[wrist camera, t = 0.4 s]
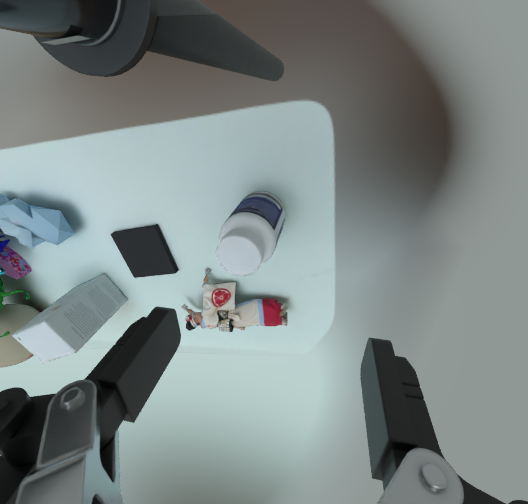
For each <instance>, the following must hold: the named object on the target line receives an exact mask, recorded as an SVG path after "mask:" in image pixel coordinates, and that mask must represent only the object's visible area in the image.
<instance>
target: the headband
mask: <svg viewBox="0 0 528 504" xmlns="http://www.w3.org/2000/svg"><path fill="white" fill-rule="evenodd" d="M0 266H1V267H2V268H3V269H4V270H5V271H6V272H5V273H4V274H5V275H7V276H9V277H12V278H14V279H20V278H21V277H23V276H24V275H26V274H28V273H29V272H31V268H30V266H29V265H28V264H27V262H26V261H25V260H24V259H23V258H22V257H21V256H19V255H18V254H17V253H16V252H15V251H13V250H12V249H11V248H9V247H8V246H5V248H4V249H3V250H2V252H1V253H0Z"/></svg>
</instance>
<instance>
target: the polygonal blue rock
mask: <svg viewBox="0 0 528 504" xmlns="http://www.w3.org/2000/svg"><path fill="white" fill-rule="evenodd" d="M0 228H1V229H2V231H3V232H4V234H7V235H11V236H14V237H15V238H17V239H18V241H19V242H20V243H21V244H23V245H25V246H28V247H30V248H32V249H34V247H35V246H36V245H38V244H40V243H42V242H44V241H47V242H50V243H53V244H56V245H58V244H60V243H61V242H63V241H64V240H66V239H67V238H69V237H70V236H72V235H73V234H75V233H74V232H73V230H72V228H71V227H70V225H69V224H68V222H67V221H66V219H65V217H64V216H63V214H62V213H61V211H59V210H53V209H48V208H43V207H37V206H32V205H28V204H27V203H25V202H23V201H21V200H20V199H18V198H15V199H13V200H10V199H8V198H6V197H5V196H3V195H2V194H0Z"/></svg>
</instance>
